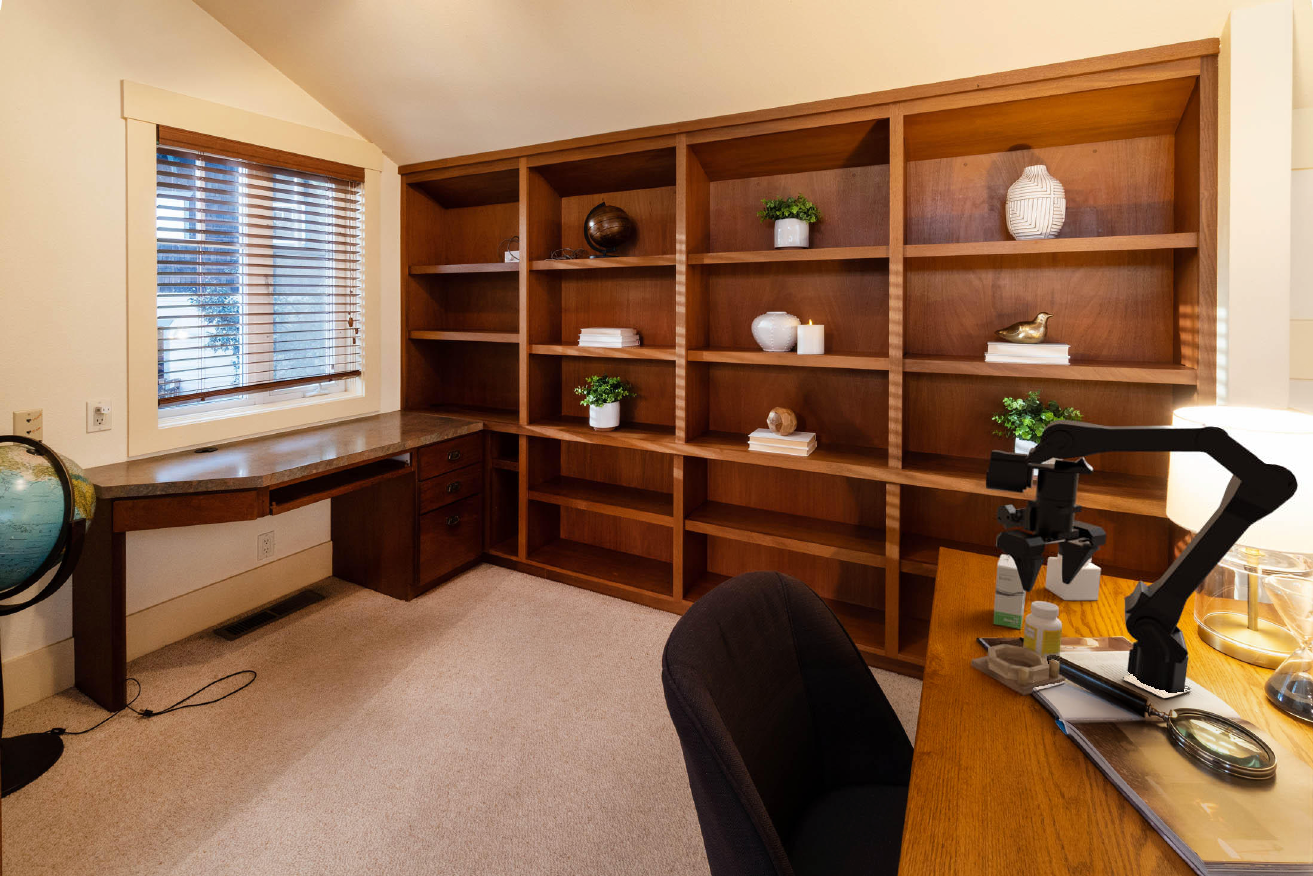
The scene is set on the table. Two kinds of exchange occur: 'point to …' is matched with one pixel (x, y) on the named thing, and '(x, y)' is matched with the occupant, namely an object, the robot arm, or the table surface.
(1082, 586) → the medicine bottle
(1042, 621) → the supplement bottle
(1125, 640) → the table surface
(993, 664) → the beige octagonal holder
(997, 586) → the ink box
